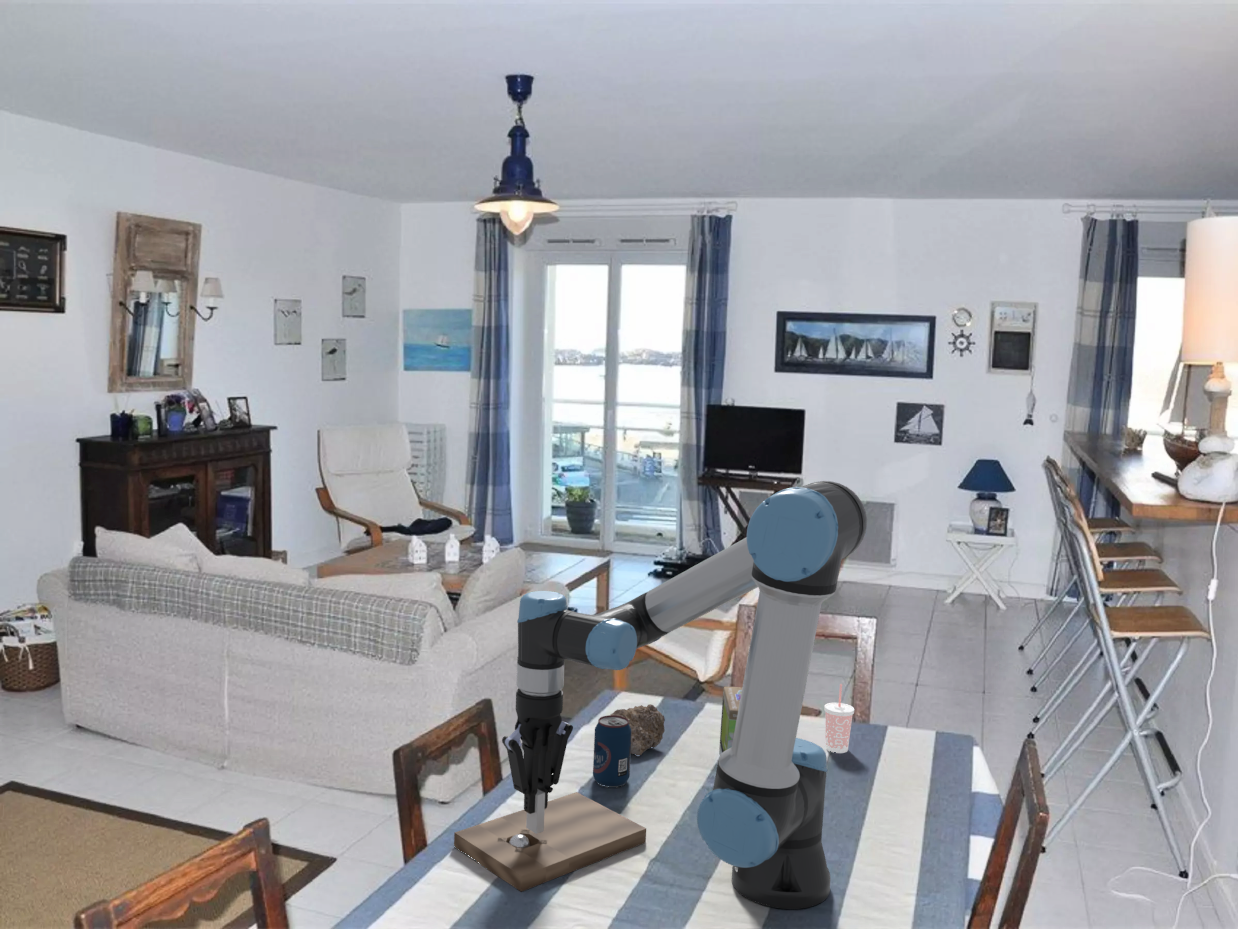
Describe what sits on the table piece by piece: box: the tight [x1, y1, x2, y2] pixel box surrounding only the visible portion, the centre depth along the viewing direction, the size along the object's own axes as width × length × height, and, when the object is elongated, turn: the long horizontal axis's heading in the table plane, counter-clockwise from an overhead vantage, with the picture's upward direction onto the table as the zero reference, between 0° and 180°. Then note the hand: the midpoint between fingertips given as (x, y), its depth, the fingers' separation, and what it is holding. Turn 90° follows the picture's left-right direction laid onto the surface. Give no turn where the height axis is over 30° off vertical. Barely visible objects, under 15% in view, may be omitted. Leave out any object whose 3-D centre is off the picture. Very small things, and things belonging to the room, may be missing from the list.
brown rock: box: [610, 704, 666, 756], centre depth 222 cm, size 14×9×10 cm, turn 122°
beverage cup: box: [823, 683, 855, 754], centre depth 225 cm, size 6×6×14 cm
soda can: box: [592, 714, 632, 788], centre depth 204 cm, size 7×7×12 cm
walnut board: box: [453, 791, 647, 893], centre depth 178 cm, size 18×26×2 cm
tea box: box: [718, 686, 743, 756], centre depth 212 cm, size 15×10×15 cm
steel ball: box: [509, 834, 530, 848], centre depth 174 cm, size 4×4×4 cm
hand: (534, 829), depth 176 cm, fingers closed
